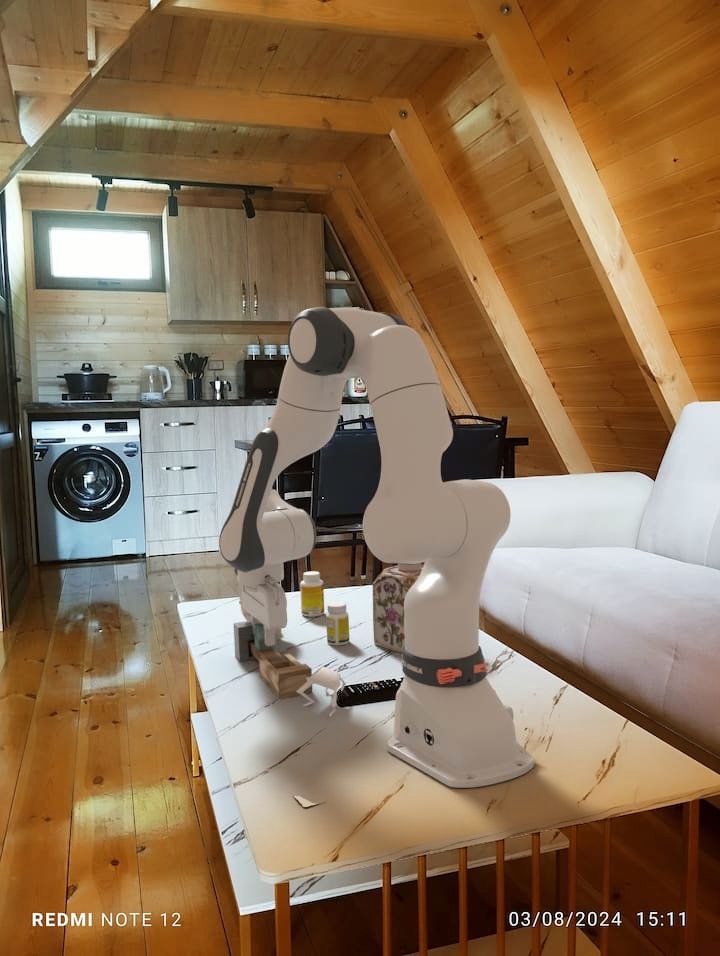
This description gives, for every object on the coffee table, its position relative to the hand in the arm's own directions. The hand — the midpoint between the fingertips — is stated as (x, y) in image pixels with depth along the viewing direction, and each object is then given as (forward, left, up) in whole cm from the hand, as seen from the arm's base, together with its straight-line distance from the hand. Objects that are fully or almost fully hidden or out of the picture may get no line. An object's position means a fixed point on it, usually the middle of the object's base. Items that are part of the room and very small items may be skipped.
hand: (264, 640), depth 153 cm
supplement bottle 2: (+6, -18, -5) cm, 20 cm away
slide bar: (-2, 0, -4) cm, 4 cm away
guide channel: (-12, 0, -5) cm, 13 cm away
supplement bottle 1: (+29, -21, -5) cm, 36 cm away
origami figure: (-25, -3, -5) cm, 26 cm away
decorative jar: (-3, -31, -5) cm, 32 cm away
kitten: (+16, -5, -5) cm, 17 cm away
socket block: (+6, 0, -5) cm, 8 cm away
